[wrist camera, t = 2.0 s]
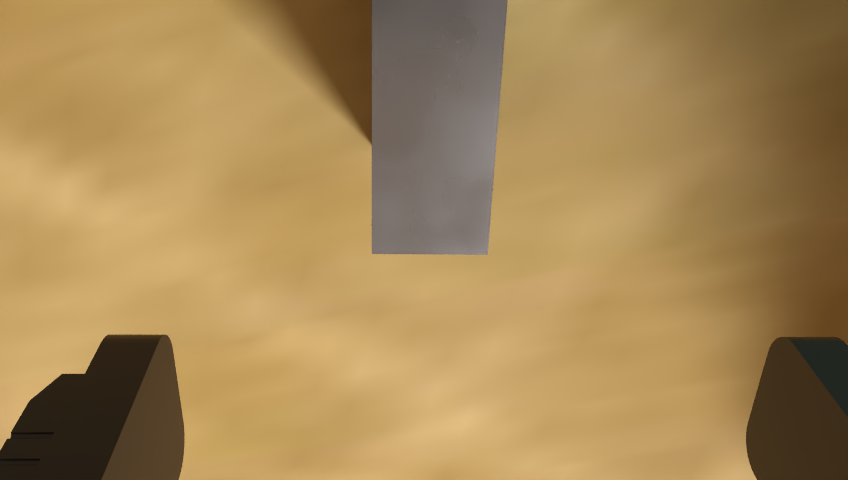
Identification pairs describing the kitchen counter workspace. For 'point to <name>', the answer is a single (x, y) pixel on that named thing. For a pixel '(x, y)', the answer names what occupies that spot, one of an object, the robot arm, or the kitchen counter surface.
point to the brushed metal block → (434, 123)
